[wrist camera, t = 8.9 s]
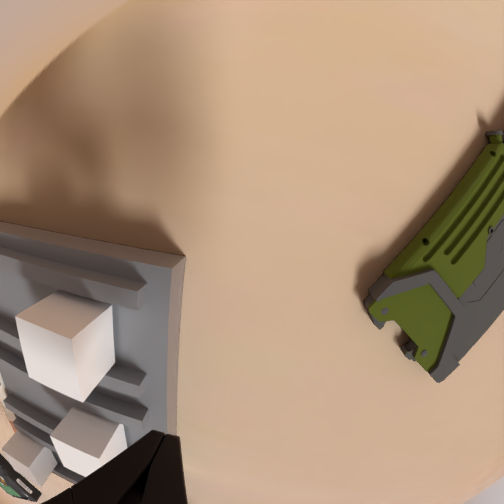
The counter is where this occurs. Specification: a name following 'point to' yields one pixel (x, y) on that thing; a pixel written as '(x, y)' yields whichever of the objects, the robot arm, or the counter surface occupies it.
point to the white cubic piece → (29, 458)
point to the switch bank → (124, 331)
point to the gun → (450, 271)
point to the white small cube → (87, 441)
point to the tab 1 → (67, 342)
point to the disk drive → (16, 483)
